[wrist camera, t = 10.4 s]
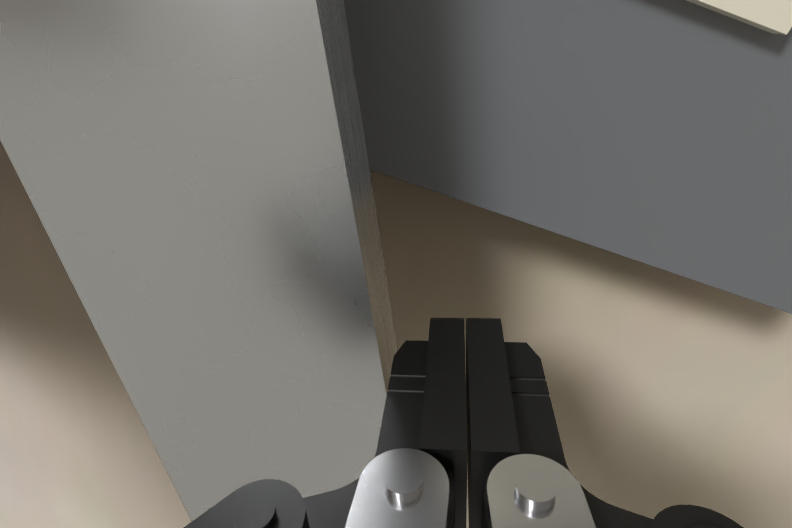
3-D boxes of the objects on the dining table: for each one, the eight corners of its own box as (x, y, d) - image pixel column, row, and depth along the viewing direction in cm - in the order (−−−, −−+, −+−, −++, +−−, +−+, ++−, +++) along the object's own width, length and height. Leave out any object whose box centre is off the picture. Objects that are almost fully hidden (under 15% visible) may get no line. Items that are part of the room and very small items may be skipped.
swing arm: (-64, -499, 8) (-603, -1036, 4) (277, -615, 7) (51, -1456, 3) (257, 415, 16) (198, 541, 12) (420, 411, 16) (412, 543, 12)
